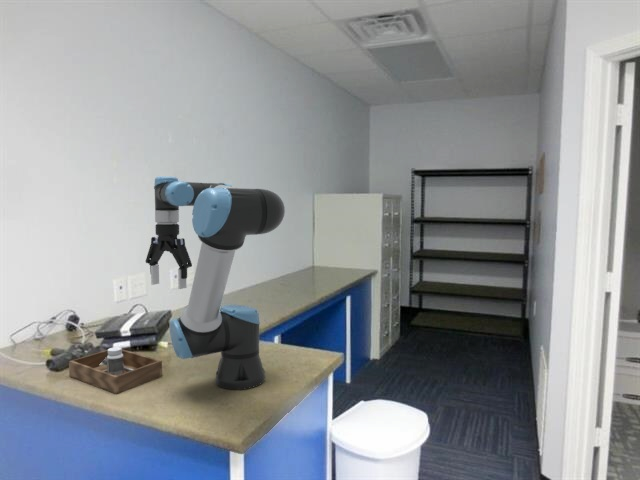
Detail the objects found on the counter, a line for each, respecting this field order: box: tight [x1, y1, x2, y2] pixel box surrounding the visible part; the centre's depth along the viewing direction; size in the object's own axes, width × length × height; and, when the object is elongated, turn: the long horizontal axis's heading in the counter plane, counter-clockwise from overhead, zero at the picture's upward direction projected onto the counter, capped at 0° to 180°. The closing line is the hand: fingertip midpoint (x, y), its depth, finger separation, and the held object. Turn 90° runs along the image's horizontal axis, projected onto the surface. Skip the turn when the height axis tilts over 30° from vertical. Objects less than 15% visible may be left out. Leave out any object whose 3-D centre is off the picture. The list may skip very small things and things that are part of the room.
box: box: [68, 349, 163, 395], centre depth 141 cm, size 24×16×5 cm, turn 58°
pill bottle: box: [107, 346, 124, 376], centre depth 141 cm, size 5×5×8 cm
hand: (168, 286), depth 151 cm, fingers open, 13 cm apart
